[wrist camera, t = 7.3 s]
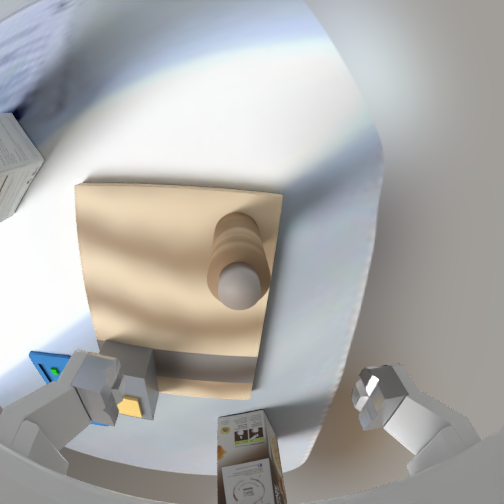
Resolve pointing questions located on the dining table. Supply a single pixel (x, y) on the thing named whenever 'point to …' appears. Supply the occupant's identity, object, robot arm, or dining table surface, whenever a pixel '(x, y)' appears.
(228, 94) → the dining table surface
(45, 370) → the handheld gaming device
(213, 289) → the marker peg
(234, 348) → the plywood board
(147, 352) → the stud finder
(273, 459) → the brown food box
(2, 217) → the supplement box
